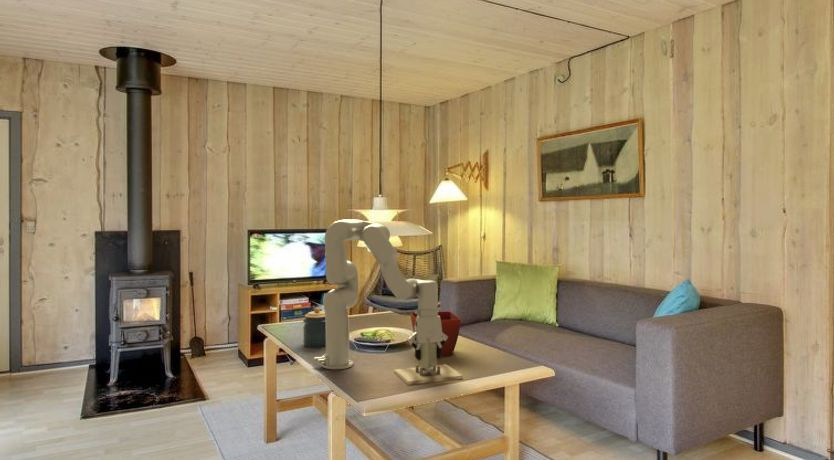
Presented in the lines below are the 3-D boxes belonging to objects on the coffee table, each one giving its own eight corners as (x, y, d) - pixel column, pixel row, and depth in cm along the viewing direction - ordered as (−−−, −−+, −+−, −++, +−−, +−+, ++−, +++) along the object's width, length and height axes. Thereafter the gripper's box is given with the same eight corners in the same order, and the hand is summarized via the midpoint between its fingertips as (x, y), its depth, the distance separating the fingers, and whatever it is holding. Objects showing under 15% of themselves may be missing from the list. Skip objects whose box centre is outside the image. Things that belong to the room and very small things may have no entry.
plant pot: (418, 360, 228) (418, 320, 227) (410, 348, 247) (410, 312, 246) (461, 357, 232) (461, 319, 231) (450, 347, 250) (450, 311, 250)
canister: (298, 344, 255) (298, 307, 255) (323, 340, 263) (322, 304, 263) (310, 349, 245) (310, 311, 244) (335, 345, 253) (335, 308, 252)
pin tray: (407, 384, 194) (407, 374, 194) (394, 372, 209) (394, 363, 209) (462, 378, 202) (462, 368, 202) (446, 367, 217) (446, 358, 217)
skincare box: (428, 363, 209) (428, 333, 209) (437, 365, 207) (437, 334, 206) (418, 367, 205) (418, 335, 204) (427, 369, 202) (427, 337, 201)
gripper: (409, 315, 199) (409, 363, 199) (452, 312, 204) (452, 358, 205) (403, 312, 206) (403, 358, 206) (445, 309, 212) (444, 354, 212)
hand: (427, 358), depth 206 cm, fingers closed on skincare box, 7 cm apart
